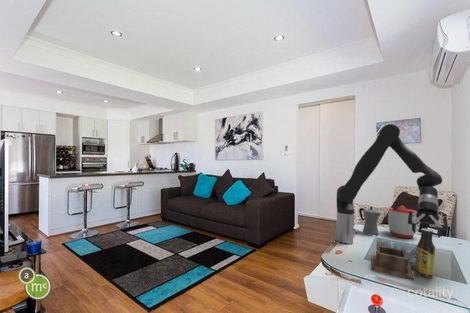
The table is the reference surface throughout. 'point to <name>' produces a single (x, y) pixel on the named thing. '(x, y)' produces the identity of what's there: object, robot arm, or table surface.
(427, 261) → the sauce bottle
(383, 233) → the table surface
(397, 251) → the bottle stand
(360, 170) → the robot arm
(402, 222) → the citrus juicer
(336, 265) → the table surface
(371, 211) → the coffeepot
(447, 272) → the table surface
